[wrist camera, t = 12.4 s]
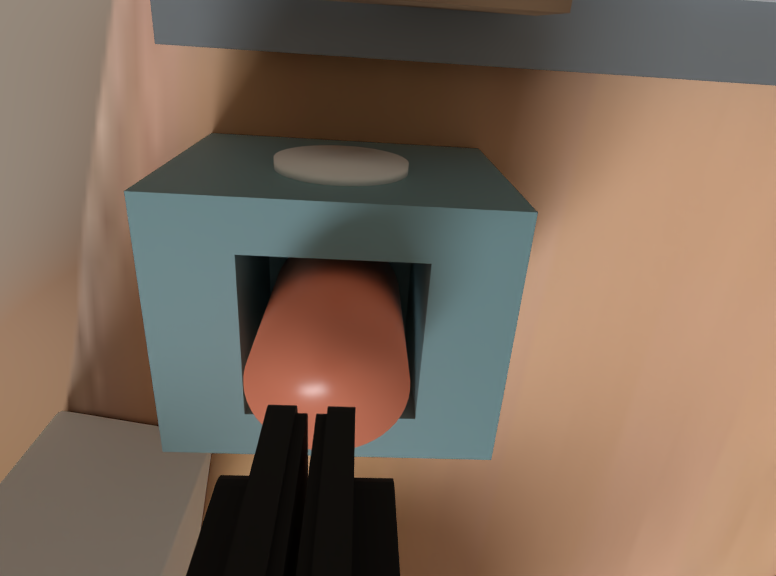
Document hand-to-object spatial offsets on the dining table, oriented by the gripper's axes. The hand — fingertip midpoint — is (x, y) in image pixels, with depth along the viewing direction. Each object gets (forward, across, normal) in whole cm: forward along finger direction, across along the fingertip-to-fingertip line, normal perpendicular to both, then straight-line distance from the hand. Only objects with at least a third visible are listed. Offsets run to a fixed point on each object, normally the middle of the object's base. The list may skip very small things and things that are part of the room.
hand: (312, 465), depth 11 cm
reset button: (+8, 0, 0) cm, 8 cm away
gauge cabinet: (+13, 0, 0) cm, 13 cm away
